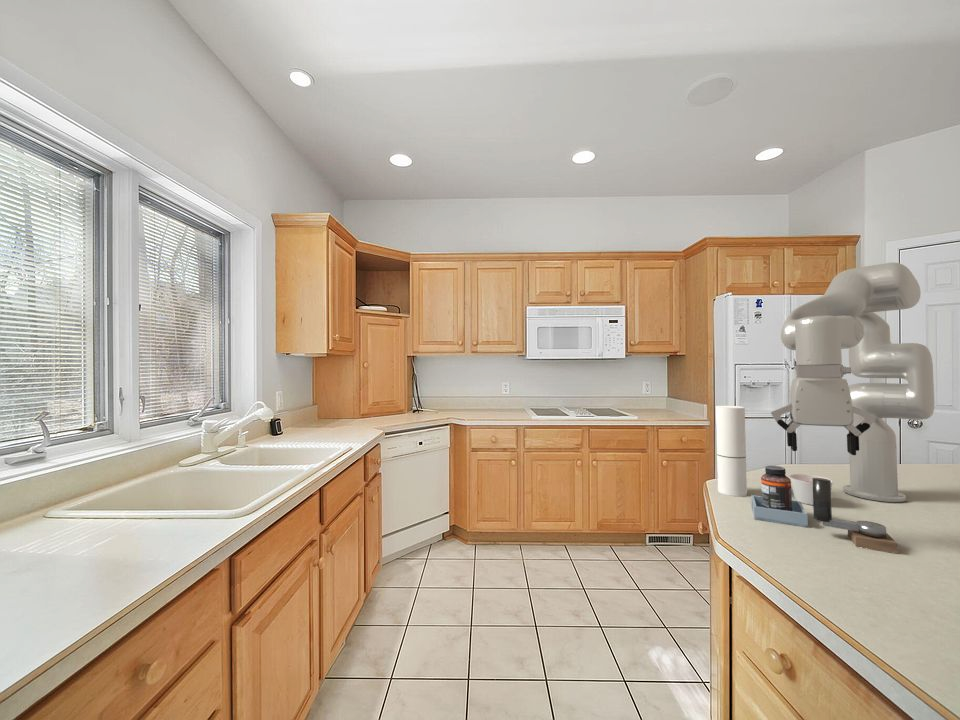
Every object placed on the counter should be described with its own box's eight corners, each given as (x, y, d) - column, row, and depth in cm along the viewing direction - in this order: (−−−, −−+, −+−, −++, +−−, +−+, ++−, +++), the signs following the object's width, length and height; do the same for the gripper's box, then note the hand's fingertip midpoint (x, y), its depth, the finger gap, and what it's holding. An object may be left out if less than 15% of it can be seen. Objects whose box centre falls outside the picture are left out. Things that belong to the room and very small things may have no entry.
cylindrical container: (746, 491, 116) (744, 406, 117) (747, 497, 110) (744, 408, 111) (718, 487, 120) (716, 405, 121) (717, 493, 114) (715, 407, 115)
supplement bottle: (786, 510, 99) (785, 465, 99) (797, 519, 93) (795, 471, 93) (758, 508, 101) (757, 463, 101) (767, 516, 95) (765, 469, 95)
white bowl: (787, 502, 106) (787, 478, 106) (792, 494, 113) (791, 472, 113) (832, 510, 100) (831, 485, 100) (834, 501, 106) (833, 478, 107)
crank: (884, 531, 81) (882, 484, 82) (888, 539, 78) (886, 490, 78) (813, 519, 88) (812, 476, 88) (814, 525, 85) (812, 480, 85)
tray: (751, 506, 103) (751, 495, 103) (800, 513, 98) (799, 501, 98) (754, 519, 95) (754, 506, 95) (807, 527, 90) (807, 514, 90)
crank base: (847, 535, 85) (847, 525, 85) (886, 541, 82) (886, 531, 82) (856, 546, 80) (855, 535, 80) (897, 553, 77) (897, 542, 77)
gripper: (867, 371, 84) (870, 451, 84) (767, 373, 93) (770, 445, 93) (879, 373, 78) (883, 459, 78) (771, 374, 87) (774, 452, 87)
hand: (822, 451), depth 86 cm, fingers open, 9 cm apart
